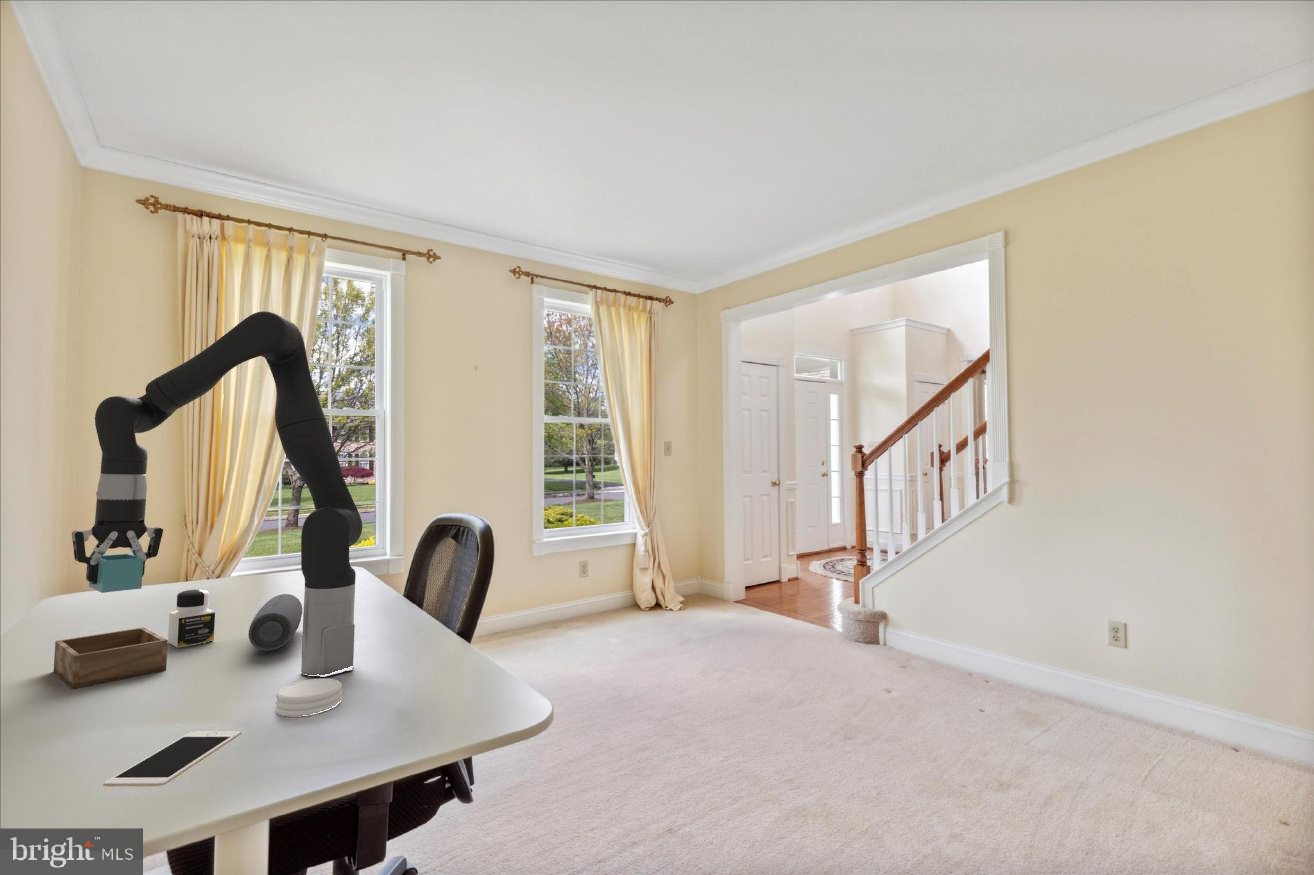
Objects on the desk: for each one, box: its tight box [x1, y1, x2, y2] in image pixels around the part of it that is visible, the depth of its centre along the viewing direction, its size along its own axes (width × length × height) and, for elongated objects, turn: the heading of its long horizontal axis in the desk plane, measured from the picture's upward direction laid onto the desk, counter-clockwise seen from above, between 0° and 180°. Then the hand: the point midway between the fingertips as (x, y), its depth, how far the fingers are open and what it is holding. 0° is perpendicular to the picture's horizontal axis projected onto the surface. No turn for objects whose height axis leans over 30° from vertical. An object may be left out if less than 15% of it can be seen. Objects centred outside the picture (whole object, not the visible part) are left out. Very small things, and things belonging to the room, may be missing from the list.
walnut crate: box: [53, 626, 169, 690], centre depth 124 cm, size 16×14×6 cm
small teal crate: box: [88, 553, 144, 594], centre depth 123 cm, size 9×6×6 cm, turn 54°
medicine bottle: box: [167, 588, 216, 649], centre depth 145 cm, size 7×7×12 cm
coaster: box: [274, 677, 343, 718], centre depth 107 cm, size 10×10×4 cm
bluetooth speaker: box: [248, 593, 303, 652], centre depth 145 cm, size 23×9×10 cm, turn 25°
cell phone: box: [103, 730, 242, 786], centre depth 88 cm, size 8×16×1 cm, turn 2°
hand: (115, 581), depth 123 cm, fingers closed on small teal crate, 6 cm apart
